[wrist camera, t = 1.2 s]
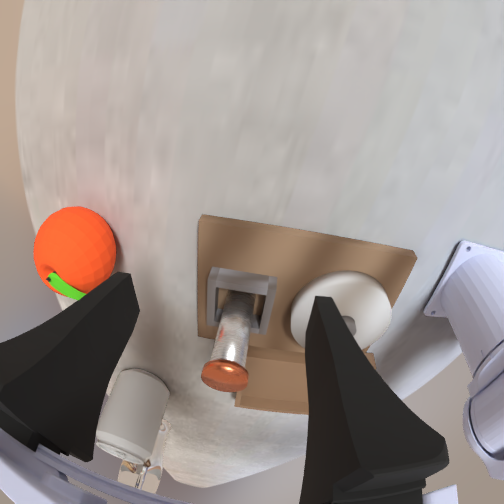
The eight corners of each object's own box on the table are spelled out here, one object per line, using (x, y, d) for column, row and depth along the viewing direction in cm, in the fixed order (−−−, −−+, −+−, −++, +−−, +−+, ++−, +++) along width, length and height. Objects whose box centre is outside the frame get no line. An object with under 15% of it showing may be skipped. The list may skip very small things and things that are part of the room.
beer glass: (177, 422, 42) (157, 497, 29) (171, 431, 46) (153, 497, 33) (139, 408, 41) (114, 481, 29) (137, 419, 45) (115, 484, 32)
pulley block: (412, 250, 20) (428, 277, 17) (361, 350, 26) (365, 377, 23) (202, 214, 20) (188, 238, 17) (200, 328, 27) (191, 356, 24)
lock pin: (261, 285, 22) (250, 372, 15) (256, 311, 23) (245, 395, 17) (224, 279, 22) (200, 364, 15) (222, 305, 23) (201, 387, 17)
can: (169, 374, 32) (142, 459, 22) (173, 399, 37) (152, 471, 27) (116, 358, 32) (82, 435, 22) (126, 385, 37) (100, 452, 27)
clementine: (154, 229, 21) (110, 289, 15) (126, 282, 25) (90, 339, 19) (77, 176, 19) (17, 217, 13) (60, 235, 23) (15, 281, 17)
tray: (373, 353, 26) (376, 368, 25) (337, 402, 33) (338, 415, 31) (245, 339, 27) (243, 355, 25) (236, 392, 33) (234, 406, 31)
